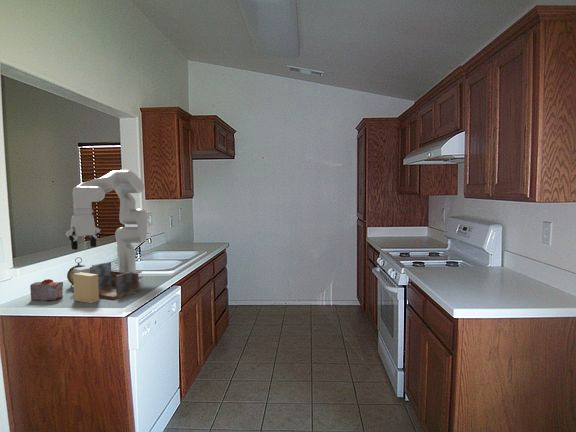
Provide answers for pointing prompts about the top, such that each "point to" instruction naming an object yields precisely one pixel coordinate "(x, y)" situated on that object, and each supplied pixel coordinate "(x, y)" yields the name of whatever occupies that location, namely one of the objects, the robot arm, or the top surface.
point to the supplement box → (82, 269)
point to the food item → (46, 290)
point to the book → (86, 287)
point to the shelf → (114, 281)
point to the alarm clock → (71, 272)
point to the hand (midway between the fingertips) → (84, 248)
